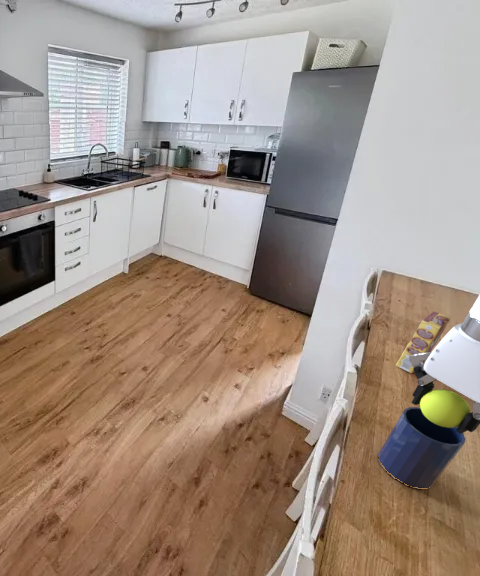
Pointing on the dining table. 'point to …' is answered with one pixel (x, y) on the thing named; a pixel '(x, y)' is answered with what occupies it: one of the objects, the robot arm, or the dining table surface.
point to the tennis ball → (444, 407)
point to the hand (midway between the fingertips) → (439, 415)
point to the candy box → (423, 338)
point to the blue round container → (419, 449)
